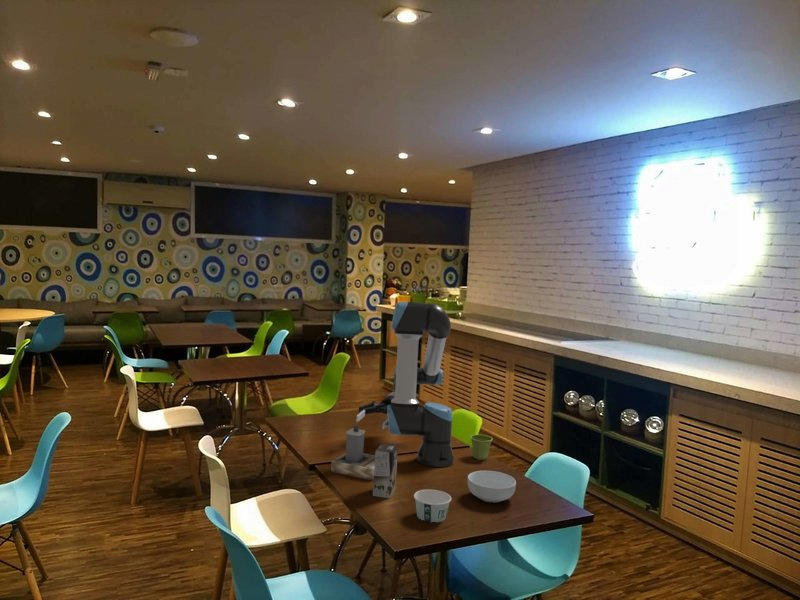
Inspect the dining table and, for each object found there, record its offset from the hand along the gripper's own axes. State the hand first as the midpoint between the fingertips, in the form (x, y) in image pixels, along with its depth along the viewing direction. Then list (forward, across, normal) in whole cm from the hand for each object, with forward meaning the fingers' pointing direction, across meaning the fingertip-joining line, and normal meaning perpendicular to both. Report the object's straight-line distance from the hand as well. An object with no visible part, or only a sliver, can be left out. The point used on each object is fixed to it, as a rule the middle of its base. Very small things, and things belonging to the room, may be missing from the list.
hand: (369, 422), depth 247 cm
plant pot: (-20, -43, -13) cm, 50 cm away
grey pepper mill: (+21, -4, -8) cm, 23 cm away
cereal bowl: (+21, -58, -3) cm, 62 cm away
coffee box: (+36, -24, -4) cm, 44 cm away
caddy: (+21, -8, -9) cm, 24 cm away
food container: (+46, -45, +1) cm, 64 cm away
